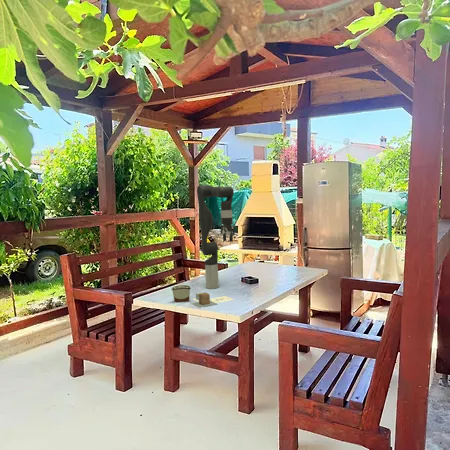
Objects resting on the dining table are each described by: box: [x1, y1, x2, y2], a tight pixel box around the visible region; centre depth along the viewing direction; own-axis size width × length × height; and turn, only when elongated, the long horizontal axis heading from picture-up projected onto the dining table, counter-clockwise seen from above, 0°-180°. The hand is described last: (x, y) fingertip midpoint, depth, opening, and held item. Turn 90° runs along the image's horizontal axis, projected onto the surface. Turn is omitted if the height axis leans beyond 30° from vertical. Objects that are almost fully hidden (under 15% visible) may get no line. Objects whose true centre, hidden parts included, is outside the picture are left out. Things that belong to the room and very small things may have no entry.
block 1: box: [195, 291, 203, 300], centre depth 250 cm, size 4×4×4 cm
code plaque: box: [210, 295, 235, 304], centre depth 246 cm, size 12×16×1 cm
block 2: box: [198, 292, 211, 305], centre depth 238 cm, size 5×5×6 cm
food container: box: [171, 284, 191, 303], centre depth 248 cm, size 12×6×10 cm, turn 92°
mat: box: [191, 301, 219, 309], centre depth 238 cm, size 12×12×1 cm
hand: (227, 241), depth 257 cm, fingers open, 8 cm apart
